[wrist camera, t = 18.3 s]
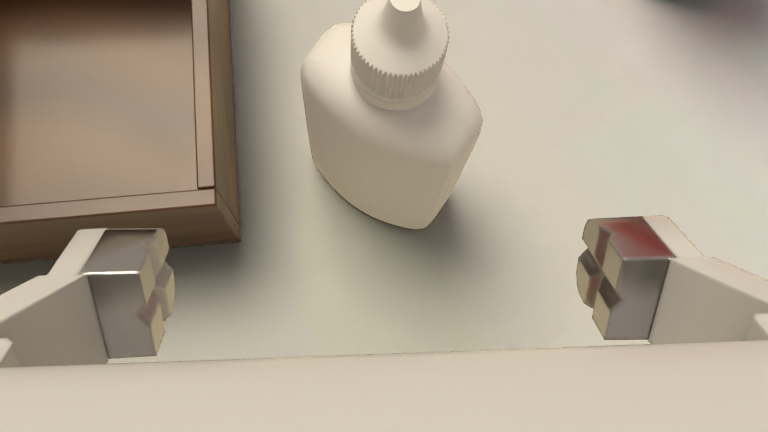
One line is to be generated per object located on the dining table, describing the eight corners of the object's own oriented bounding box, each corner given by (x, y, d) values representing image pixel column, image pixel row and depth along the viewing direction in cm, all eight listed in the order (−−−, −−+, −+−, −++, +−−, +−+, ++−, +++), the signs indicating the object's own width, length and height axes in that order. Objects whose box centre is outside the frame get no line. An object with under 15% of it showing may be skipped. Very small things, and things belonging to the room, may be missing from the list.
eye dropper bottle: (396, 96, 27) (433, -129, 16) (460, 213, 26) (551, 63, 14) (300, 138, 26) (263, -66, 15) (361, 260, 25) (373, 142, 14)
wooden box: (241, 241, 25) (216, 205, 20) (-64, 269, 24) (-163, 238, 19) (227, -31, 28) (203, -117, 24) (-43, -15, 27) (-123, -101, 23)
